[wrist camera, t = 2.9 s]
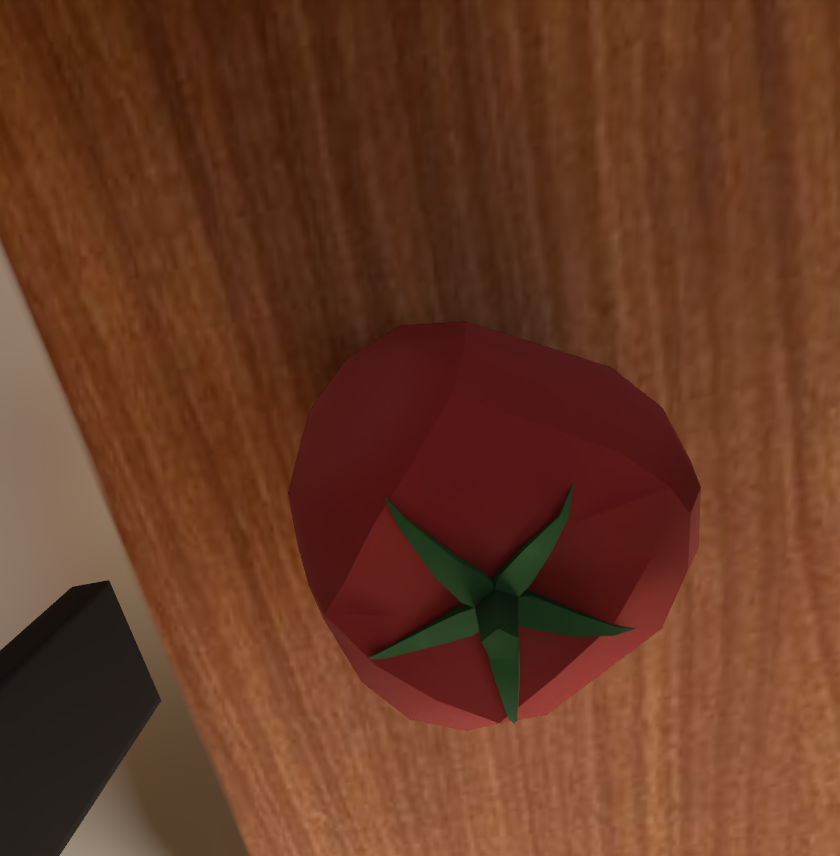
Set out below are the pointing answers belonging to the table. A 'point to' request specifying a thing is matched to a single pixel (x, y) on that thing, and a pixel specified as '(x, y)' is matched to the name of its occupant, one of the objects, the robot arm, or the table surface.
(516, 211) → the table surface
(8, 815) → the robot arm
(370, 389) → the tomato
